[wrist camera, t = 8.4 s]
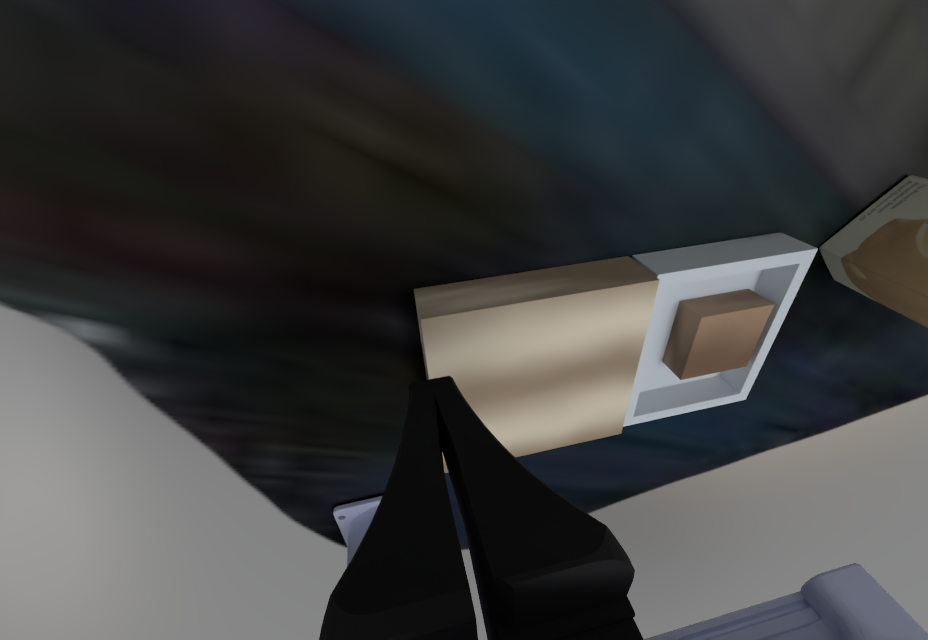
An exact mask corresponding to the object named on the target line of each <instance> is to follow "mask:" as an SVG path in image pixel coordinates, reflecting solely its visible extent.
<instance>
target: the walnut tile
mask: <svg viewBox="0 0 928 640" xmlns="http://www.w3.org/2000/svg"><path fill="white" fill-rule="evenodd" d="M773 307H774V304H773V303H772V302H770V301H768V300H767V299H765V298H763V297H762V296H760V295H758V294H757V293H755V292H753V291H752V290H750V289H743V290H738V291H732V292H726V293H721V294H715V295H709V296H704V297H698V298H692V299H687V300H681V301H679V305H678V308H677V312H676V315H675V318H674V322H673V325H672V329H671V332H670V336H669V339H668V342H667V346H666V349H665V353H664V356H663V360H662V362H663V363H664V364H665V365H666V366H667V367H668V368H669V369H670V370H671V371H672V372H673V373H674V374H675V375H676V376H677V377H678V378H679V379H680V380H684V379H689V378H693V377H698V376H703V375H708V374H713V373H717V372H722V371H727V370H732V369H736V368H741V367H746V366H747V364H748V362H749V360H750V358H751V355H752V353H753V351H754V349H755V347H756V344H757V342H758V340H759V338H760V335H761V333H762V331H763V329H764V327H765V324H766V322H767V320H768V318H769V316H770V313H771V311H772V309H773Z"/></svg>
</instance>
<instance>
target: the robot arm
mask: <svg viewBox="0 0 928 640" xmlns="http://www.w3.org/2000/svg"><path fill="white" fill-rule="evenodd" d="M442 452H443V454H442ZM443 456H444V459H445V462H446V466H447V469H448V472H449V476H450V479H451V482H452V485H453V489H454V492H455V495H456V499H457V502H458V505H459V508H460V512H461V515H462V519H463V523H464V527H465V531H466V536H467V541H468V545H469V550H470V555H471V559H472V565H473V570H474V574H475V579H476V584H477V589H478V594H479V599H480V604H481V609H482V613H483V618H484V623H485V628H486V633H487V639H488V640H643V638H642V636H641V633H640V632H639V629H638V627H637V625H636V623H635V621H634V619H633V617H634V616H635V613H634V610H633V608H632V606H631V604H630V601H629V600H628V597H627V594H628V591H629V589H630V586H631V584H632V581H633V578H634V572H635V570H634V568H633V566H632V564H631V561H630V559H629V558H628V556H627V554H626V552H625V551H624V549H623V548H622V547H621V545H620V544H619V542H618V541H617V539H616V538H615V536H614V535H613V534H612V532H611V531H610V530H609V529H608V527H607V526H606V525H604V524H602V523H601V522H599V521H598V520H596V519H595V518H593V517H592V516H590V515H588V514H587V513H585V512H584V511H582V510H581V509H579V508H578V507H576V506H575V505H573V504H572V503H571V502H569V501H568V500H566V499H565V498H564V497H562V496H561V495H559V494H558V493H557V492H556V491H554V490H553V489H552V488H550V487H549V486H548V485H547V484H545V483H544V482H543V481H542V480H540V479H539V478H538V477H537V476H535V475H534V474H533V473H532V472H531V471H529V470H528V469H527V468H526V467H525V466H524V465H523V464H522V463H521V462H519V461H518V460H517V459H516V458H515V457H514V456H513V455H512V454H511V453H510V452H509V451H508V450H507V449H506V448H505V447H504V446H503V445H502V444H501V443H500V442H499V441H498V439H497V438H496V437H495V436H494V435H493V434H492V433H491V432H490V431H489V429H488V428H487V427H486V426H485V425H484V423H483V422H482V421H481V420H480V418H479V417H478V416H477V415H476V413H475V412H474V411H473V409H472V408H471V407H470V405H469V404H468V402H467V401H466V400H465V398H464V397H463V395H462V394H461V392H460V390H459V389H458V387H457V385H456V383H455V381H454V379H453V378H452V377H451V376H445V377H440V378H434V379H429V380H424V381H418V382H413V383H411V384H410V385H409V403H408V410H407V417H406V422H405V426H404V431H403V436H402V440H401V443H400V447H399V450H398V454H397V457H396V461H395V464H394V467H393V470H392V473H391V475H390V478H389V481H388V484H387V486H386V489H385V491H384V494H383V496H379V497H375V498H371V499H366V500H362V501H357V502H353V503H349V504H344V505H340V506H337V507H335V508H334V511H333V515H334V517H335V520H336V522H337V524H338V527H339V529H340V531H341V533H342V536H343V538H344V540H345V543H346V545H347V547H348V563H347V564H348V565H347V569H346V570H345V572H344V573H343V575H342V577H341V579H340V580H339V582H338V584H337V585H336V587H335V589H334V590H333V592H332V594H331V595H330V598H329V602H328V605H327V609H326V612H325V616H324V620H323V624H322V628H321V633H320V638H319V640H478V636H477V625H476V617H475V612H474V607H473V602H472V597H471V593H470V588H469V583H468V579H467V575H466V571H465V566H464V562H463V558H462V553H461V549H460V544H459V540H458V536H457V531H456V527H455V522H454V518H453V513H452V509H451V504H450V499H449V495H448V490H447V486H446V481H445V474H444V464H443ZM644 640H928V633H927V632H926V631H925V630H924V629H923V628H922V627H921V626H920V625H919V624H918V623H917V622H916V621H915V620H914V619H913V618H912V617H911V616H910V615H909V614H908V613H907V612H906V611H905V610H904V609H903V608H902V607H901V606H900V605H899V604H898V603H897V602H896V601H895V600H894V599H893V598H892V597H891V596H890V595H889V594H888V593H887V591H886V590H885V589H884V588H883V587H882V586H881V585H880V584H879V583H878V582H877V581H876V580H875V579H874V578H873V577H872V576H871V575H870V574H869V573H868V572H867V571H866V570H865V569H864V568H863V567H862V566H861V565H860V564H856V563H853V564H850V565H847V566H843V567H840V568H837V569H834V570H830V571H827V572H824V573H821V574H818V575H816V576H815V577H813V578H811V579H810V580H808V581H807V582H806V583H805V584H804V585H803V586H802V588H801V591H800V592H797V593H793V594H790V595H787V596H784V597H780V598H777V599H774V600H771V601H768V602H764V603H761V604H758V605H754V606H751V607H748V608H745V609H741V610H738V611H735V612H732V613H728V614H725V615H722V616H719V617H716V618H713V619H709V620H706V621H703V622H699V623H696V624H693V625H690V626H686V627H683V628H680V629H677V630H673V631H670V632H667V633H664V634H660V635H657V636H654V637H651V638H647V639H644Z"/></svg>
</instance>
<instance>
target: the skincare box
mask: <svg viewBox="0 0 928 640" xmlns="http://www.w3.org/2000/svg"><path fill="white" fill-rule="evenodd" d="M819 250H820V252H821V254H822V256H823V259H824V261H825V263H826V265H827V267H828V269H829V271H830V273H831V275H832V277H833V279H834V280H835V281H837V282H839V283H841V284H843V285H845V286H847V287H849V288H851V289H853V290H855V291H857V292H859V293H861V294H863V295H865V296H867V297H869V298H871V299H872V300H874V301H876V302H878V303H880V304H882V305H884V306H886V307H888V308H890V309H892V310H894V311H896V312H898V313H900V314H902V315H904V316H906V317H908V318H910V319H912V320H914V321H916V322H917V323H919V324H921V325H923V326H925V327H927V328H928V179H926V178H922V177H918V176H914V175H911V176H908V177H907V178H905V179H904V180H903V181H901V182H900V183H899V184H898V185H897V186H895V187H894V188H893V189H891V190H890V191H889V192H888V193H886V194H885V195H884V196H882V197H881V198H880V199H879V200H877V201H876V202H875V203H874V204H872V205H871V206H870V207H869V208H867V209H866V210H865V211H863V212H862V213H861V214H860V215H859V216H857V217H856V218H855V219H853V220H852V221H851V222H850V223H849V224H847V225H846V226H845V227H844V228H842V229H841V230H840V231H839V232H838V233H836V234H835V235H834V236H833V237H831V238H830V239H829V240H828V241H826V242H825V243H824V244H823V245H822V246H820V248H819Z"/></svg>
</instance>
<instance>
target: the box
mask: <svg viewBox="0 0 928 640" xmlns="http://www.w3.org/2000/svg"><path fill="white" fill-rule="evenodd" d="M817 250H818V248H816V247H813V246H811V245H809V244H806V243H804V242H802V241H799V240H797V239H795V238H792V237H790V236H788V235H785V234H783V233H781V232H780V233H773V234H767V235H760V236H754V237H747V238H741V239H735V240H728V241H722V242H715V243H709V244H702V245H696V246H689V247H683V248H676V249H670V250H663V251H657V252H650V253H644V254H637V255H632V258H631V259H633V260H634V261H635V262H637V263H638V264H639V265H641V266H642V267H643V268H645V269H646V270H647V271H649V272H650V273H651V274H653V275H654V276H655V277H657V278H658V279H659V284H658V288H657V292H656V296H655V300H654V304H653V308H652V312H651V316H650V320H649V324H648V328H647V332H646V336H645V340H644V344H643V348H642V352H641V356H640V360H639V364H638V368H637V372H636V376H635V380H634V384H633V388H632V392H631V396H630V400H629V404H628V408H627V412H626V416H625V420H624V424H623V427H624V426H628V425H633V424H637V423H642V422H646V421H651V420H655V419H660V418H664V417H669V416H673V415H678V414H682V413H687V412H691V411H696V410H700V409H705V408H709V407H714V406H718V405H723V404H728V403H732V402H737V401H741V400H746V398H747V396H748V393H749V391H750V389H751V387H752V385H753V383H754V381H755V379H756V377H757V375H758V373H759V371H760V369H761V366H762V364H763V362H764V360H765V358H766V356H767V354H768V352H769V350H770V348H771V346H772V344H773V341H774V339H775V337H776V335H777V333H778V331H779V329H780V327H781V325H782V323H783V321H784V319H785V317H786V314H787V312H788V310H789V308H790V306H791V304H792V302H793V300H794V298H795V296H796V294H797V292H798V289H799V287H800V285H801V283H802V281H803V279H804V277H805V275H806V273H807V271H808V269H809V267H810V265H811V262H812V260H813V258H814V256H815V254H816V252H817ZM743 289H750V290H752V291H753V292H755V293H757V294H758V295H760V296H762V297H763V298H765V299H767V300H768V301H770V302H772V303H773V304H774V307H773V309H772V311H771V313H770V316H769V318H768V320H767V322H766V324H765V327H764V329H763V331H762V333H761V335H760V338H759V340H758V342H757V344H756V347H755V349H754V351H753V353H752V355H751V358H750V360H749V362H748V364H747V366H746V367H741V368H736V369H732V370H727V371H722V372H717V373H713V374H708V375H703V376H698V377H693V378H689V379H684V380H680V379H679V378H678V377H677V376H676V375H675V374H674V373H673V372H672V371H671V370H670V369H669V368H668V367H667V366H666V365H665V364H664V363H663V362H662V360H663V356H664V353H665V349H666V346H667V342H668V339H669V336H670V332H671V329H672V325H673V322H674V318H675V315H676V312H677V308H678V305H679V301H681V300H687V299H692V298H698V297H704V296H709V295H715V294H721V293H726V292H732V291H738V290H743Z"/></svg>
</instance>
